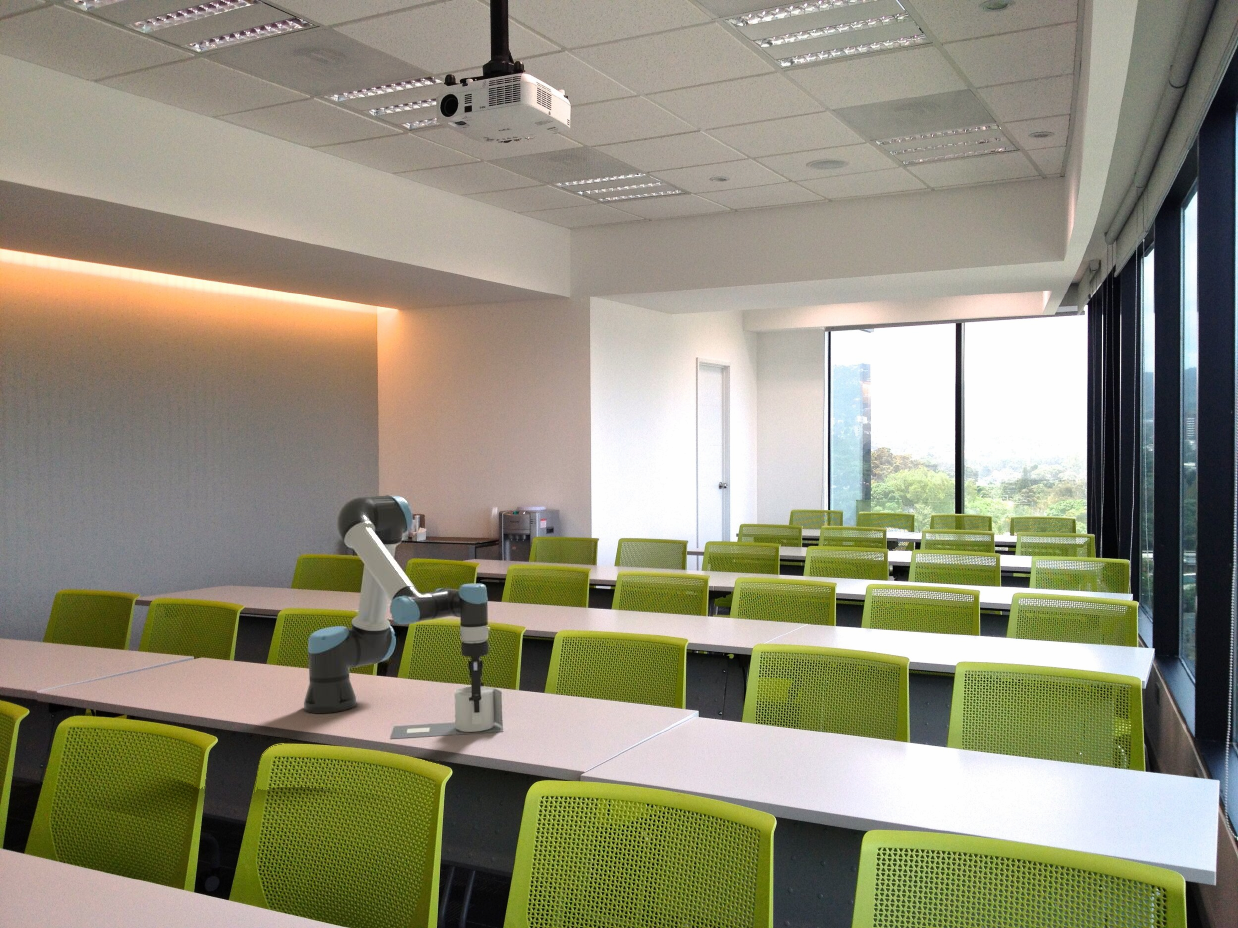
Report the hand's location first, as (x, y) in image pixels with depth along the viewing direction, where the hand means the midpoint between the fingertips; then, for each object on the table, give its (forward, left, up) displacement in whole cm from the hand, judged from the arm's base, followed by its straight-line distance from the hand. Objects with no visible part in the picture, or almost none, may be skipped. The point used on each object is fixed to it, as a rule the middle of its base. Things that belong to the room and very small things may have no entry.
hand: (477, 717), depth 276 cm
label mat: (-8, 0, -3) cm, 9 cm away
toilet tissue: (0, 0, -3) cm, 3 cm away
